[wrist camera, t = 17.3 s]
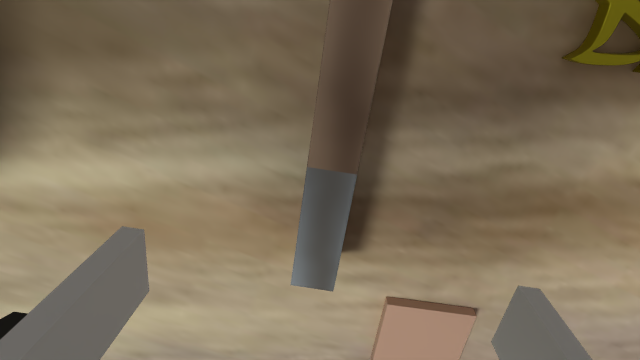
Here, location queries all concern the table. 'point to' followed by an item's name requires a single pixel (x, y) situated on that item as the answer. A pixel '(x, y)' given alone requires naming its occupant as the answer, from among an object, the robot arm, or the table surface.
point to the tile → (421, 330)
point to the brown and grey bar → (338, 135)
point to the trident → (609, 34)
